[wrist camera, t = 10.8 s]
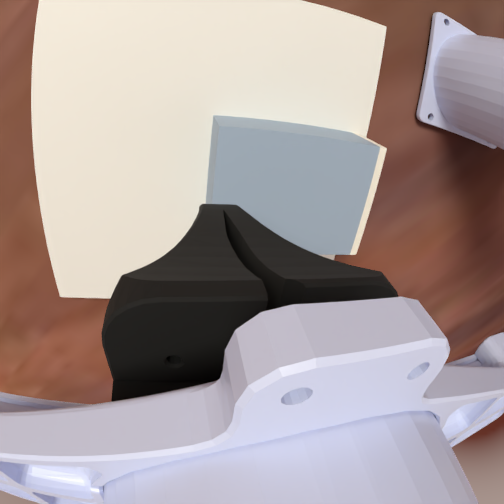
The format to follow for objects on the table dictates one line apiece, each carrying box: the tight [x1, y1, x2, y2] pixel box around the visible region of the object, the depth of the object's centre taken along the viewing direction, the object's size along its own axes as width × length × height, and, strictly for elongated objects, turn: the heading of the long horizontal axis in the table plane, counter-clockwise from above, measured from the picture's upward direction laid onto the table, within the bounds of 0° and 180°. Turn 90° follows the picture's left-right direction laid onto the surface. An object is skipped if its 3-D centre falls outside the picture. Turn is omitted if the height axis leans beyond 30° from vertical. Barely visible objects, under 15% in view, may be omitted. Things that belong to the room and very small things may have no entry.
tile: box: [31, 0, 386, 298], centre depth 16 cm, size 18×18×1 cm
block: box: [206, 115, 387, 255], centre depth 16 cm, size 3×6×8 cm
